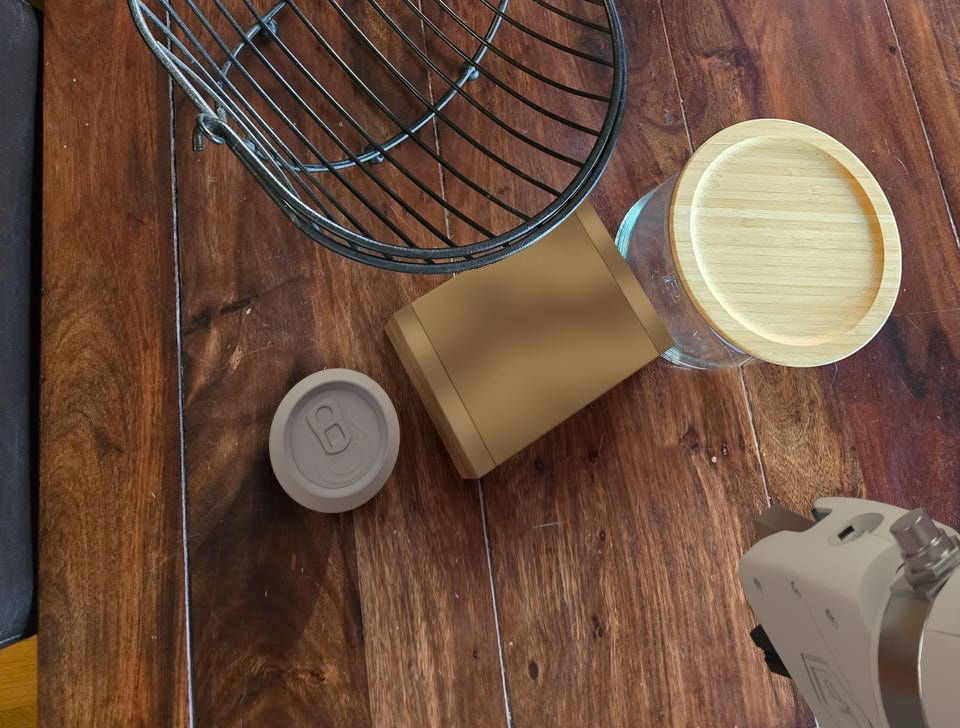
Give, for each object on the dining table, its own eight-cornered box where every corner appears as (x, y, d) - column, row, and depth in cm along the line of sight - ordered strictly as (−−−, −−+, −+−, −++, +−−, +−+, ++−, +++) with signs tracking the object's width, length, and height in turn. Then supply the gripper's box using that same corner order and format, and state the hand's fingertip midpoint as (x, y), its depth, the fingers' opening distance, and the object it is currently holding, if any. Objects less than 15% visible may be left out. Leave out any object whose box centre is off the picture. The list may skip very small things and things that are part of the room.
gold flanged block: (644, 355, 75) (676, 344, 69) (461, 479, 70) (478, 479, 64) (563, 218, 78) (586, 196, 72) (383, 327, 73) (392, 314, 67)
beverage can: (306, 533, 67) (308, 544, 57) (251, 423, 70) (244, 414, 59) (406, 463, 70) (427, 461, 59) (351, 359, 72) (361, 339, 62)
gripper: (766, 518, 36) (622, 513, 52) (1101, 1066, 31) (826, 873, 47) (935, 385, 38) (749, 420, 54) (1270, 869, 33) (956, 751, 49)
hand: (785, 629), depth 50 cm, fingers closed
